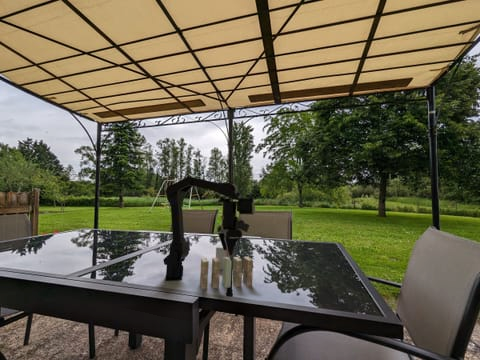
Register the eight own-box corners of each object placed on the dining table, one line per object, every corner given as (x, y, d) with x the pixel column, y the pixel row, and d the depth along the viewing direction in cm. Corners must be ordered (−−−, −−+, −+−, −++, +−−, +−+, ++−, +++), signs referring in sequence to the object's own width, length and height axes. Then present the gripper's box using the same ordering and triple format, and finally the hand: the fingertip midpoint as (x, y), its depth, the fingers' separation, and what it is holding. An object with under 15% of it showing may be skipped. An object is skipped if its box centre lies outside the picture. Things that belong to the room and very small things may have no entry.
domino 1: (201, 289, 86) (203, 261, 87) (199, 283, 91) (201, 258, 92) (207, 289, 86) (208, 261, 87) (204, 283, 92) (206, 257, 93)
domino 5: (247, 286, 91) (248, 260, 92) (242, 281, 96) (243, 256, 97) (252, 285, 91) (253, 260, 92) (247, 280, 97) (248, 256, 98)
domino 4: (236, 286, 89) (237, 260, 90) (232, 281, 95) (233, 257, 96) (241, 286, 90) (242, 260, 91) (237, 281, 96) (238, 256, 97)
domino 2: (213, 288, 87) (215, 261, 88) (211, 283, 92) (212, 257, 94) (218, 288, 87) (220, 261, 88) (215, 282, 93) (217, 257, 94)
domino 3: (225, 287, 88) (226, 260, 89) (222, 282, 94) (223, 257, 95) (230, 287, 89) (231, 260, 90) (226, 282, 94) (227, 257, 95)
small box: (225, 270, 111) (226, 248, 112) (214, 269, 112) (215, 247, 113) (229, 266, 119) (230, 245, 120) (219, 265, 120) (220, 244, 121)
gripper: (255, 215, 88) (254, 257, 86) (241, 213, 105) (239, 247, 104) (227, 214, 84) (225, 258, 83) (217, 212, 102) (215, 248, 101)
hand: (227, 252), depth 93 cm, fingers open, 9 cm apart
